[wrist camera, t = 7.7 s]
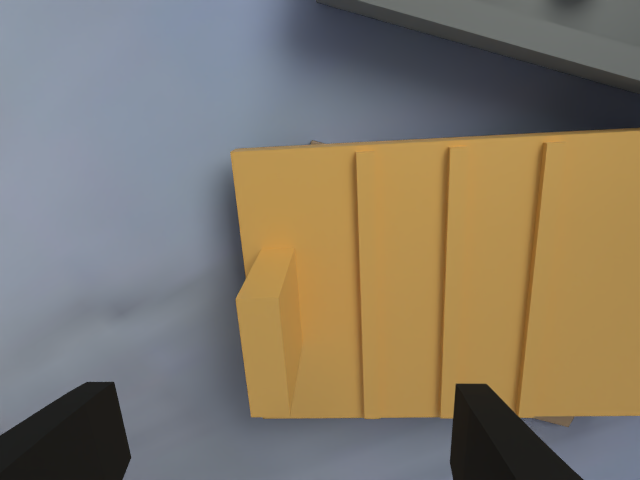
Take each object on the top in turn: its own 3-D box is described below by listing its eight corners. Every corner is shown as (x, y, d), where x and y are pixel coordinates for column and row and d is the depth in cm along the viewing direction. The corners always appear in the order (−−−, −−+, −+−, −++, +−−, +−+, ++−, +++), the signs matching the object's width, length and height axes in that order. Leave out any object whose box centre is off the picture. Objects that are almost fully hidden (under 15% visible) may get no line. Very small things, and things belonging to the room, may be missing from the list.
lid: (670, 123, 15) (834, 143, 10) (619, 390, 19) (721, 506, 14) (240, 146, 16) (191, 174, 11) (268, 395, 20) (241, 503, 15)
